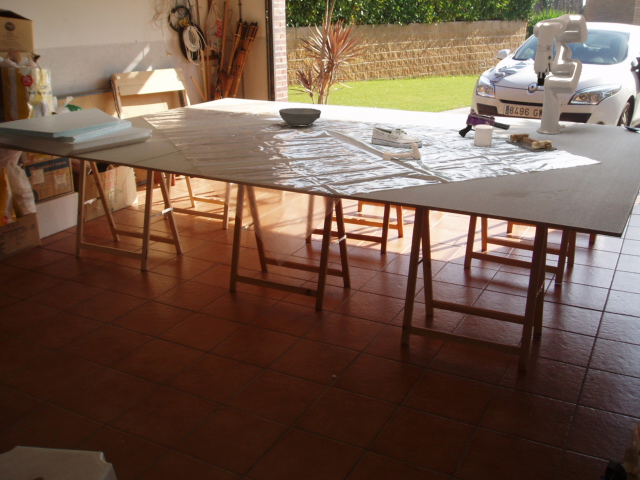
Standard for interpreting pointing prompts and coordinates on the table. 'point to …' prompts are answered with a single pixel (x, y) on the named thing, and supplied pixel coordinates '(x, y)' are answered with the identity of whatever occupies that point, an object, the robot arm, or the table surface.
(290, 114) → the bowl
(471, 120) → the toy gun
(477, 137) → the cup
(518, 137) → the rail
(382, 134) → the boat shoe
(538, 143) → the sliding jaw
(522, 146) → the strip
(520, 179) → the table surface
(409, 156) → the beige knobbed bar
